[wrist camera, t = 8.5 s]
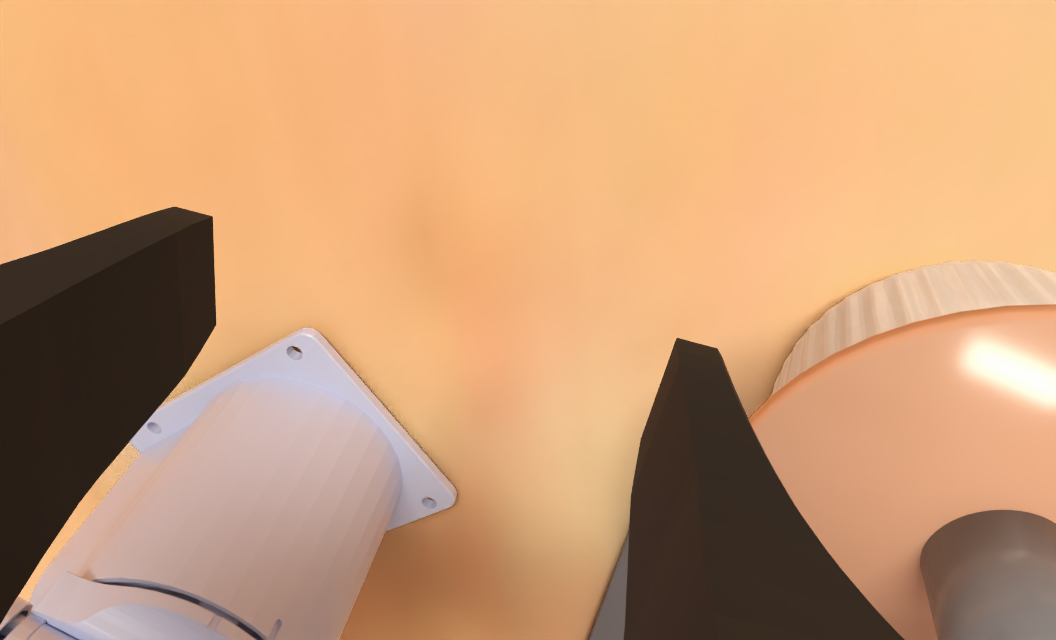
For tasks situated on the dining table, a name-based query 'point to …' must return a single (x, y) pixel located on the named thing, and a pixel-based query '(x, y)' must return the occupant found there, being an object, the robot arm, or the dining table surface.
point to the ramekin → (917, 305)
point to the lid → (933, 470)
